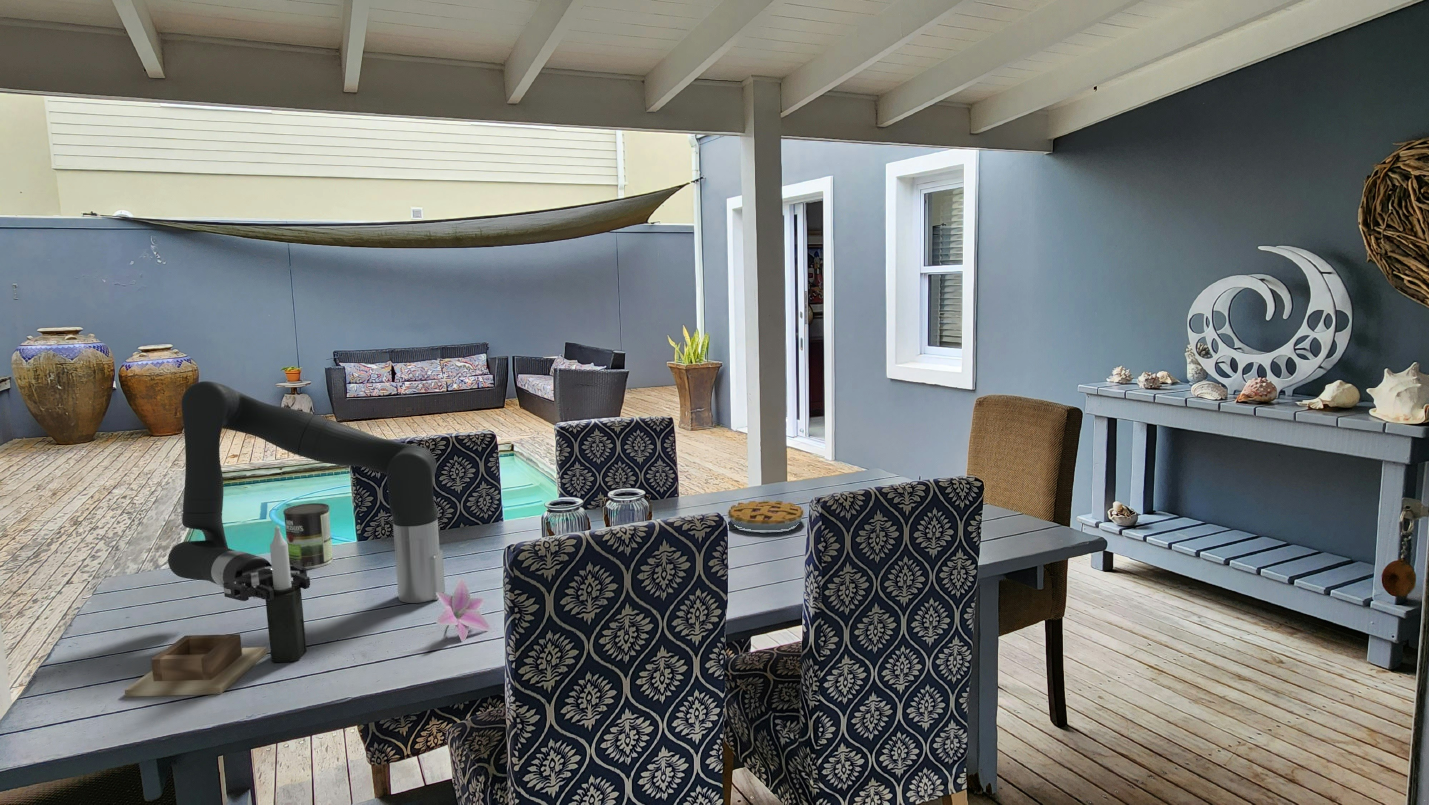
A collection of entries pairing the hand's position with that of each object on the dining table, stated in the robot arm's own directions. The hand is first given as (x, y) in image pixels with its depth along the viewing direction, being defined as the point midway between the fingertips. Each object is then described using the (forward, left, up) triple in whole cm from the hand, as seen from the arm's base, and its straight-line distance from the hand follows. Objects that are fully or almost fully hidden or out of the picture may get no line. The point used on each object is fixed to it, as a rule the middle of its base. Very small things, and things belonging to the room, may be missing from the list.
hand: (289, 589), depth 156 cm
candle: (+2, -1, -14) cm, 14 cm away
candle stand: (+15, +5, -14) cm, 21 cm away
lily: (-28, -10, -14) cm, 33 cm away
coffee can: (+22, -56, -14) cm, 62 cm away
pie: (-94, -81, -14) cm, 125 cm away
